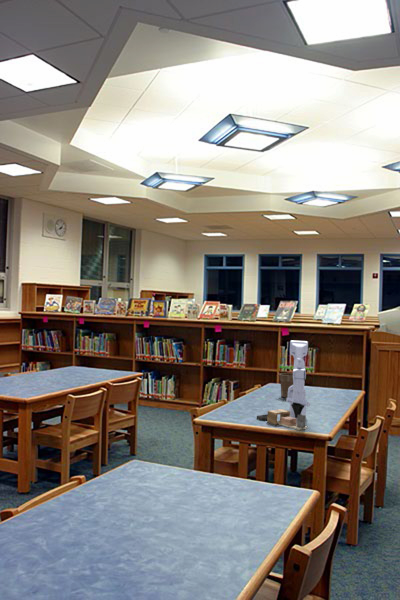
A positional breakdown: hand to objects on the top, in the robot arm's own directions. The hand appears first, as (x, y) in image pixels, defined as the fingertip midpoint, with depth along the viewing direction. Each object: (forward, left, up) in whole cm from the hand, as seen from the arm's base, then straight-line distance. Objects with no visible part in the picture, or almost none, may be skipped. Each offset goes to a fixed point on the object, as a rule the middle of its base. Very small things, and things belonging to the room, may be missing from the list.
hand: (297, 417), depth 270 cm
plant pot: (-70, -65, -5) cm, 96 cm away
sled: (0, -5, -5) cm, 7 cm away
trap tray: (0, -22, -5) cm, 23 cm away
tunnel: (0, -13, -5) cm, 14 cm away
